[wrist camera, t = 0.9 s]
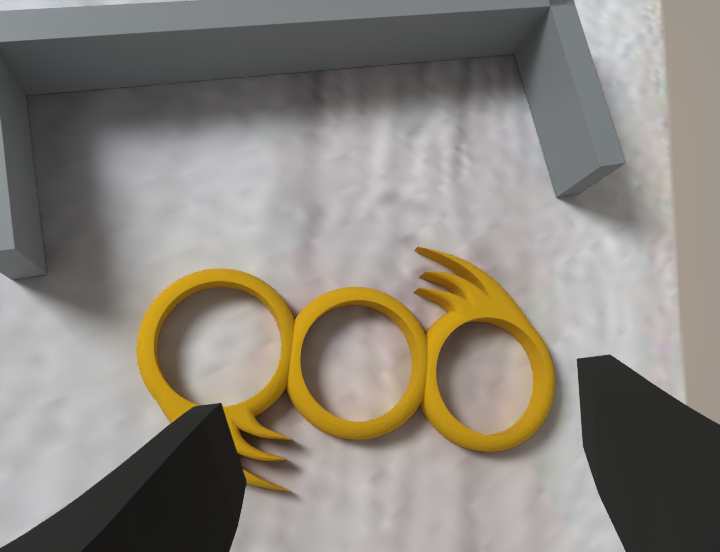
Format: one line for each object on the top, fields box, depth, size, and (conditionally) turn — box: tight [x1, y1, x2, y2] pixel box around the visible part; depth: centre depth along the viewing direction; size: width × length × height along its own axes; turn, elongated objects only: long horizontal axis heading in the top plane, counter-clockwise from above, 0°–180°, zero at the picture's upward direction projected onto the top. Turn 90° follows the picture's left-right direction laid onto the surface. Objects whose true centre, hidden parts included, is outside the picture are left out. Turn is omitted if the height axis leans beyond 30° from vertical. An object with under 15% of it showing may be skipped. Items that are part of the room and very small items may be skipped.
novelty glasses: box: [137, 247, 555, 492], centre depth 24 cm, size 17×2×10 cm
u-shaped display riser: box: [0, 0, 626, 280], centre depth 24 cm, size 9×24×4 cm, turn 102°
